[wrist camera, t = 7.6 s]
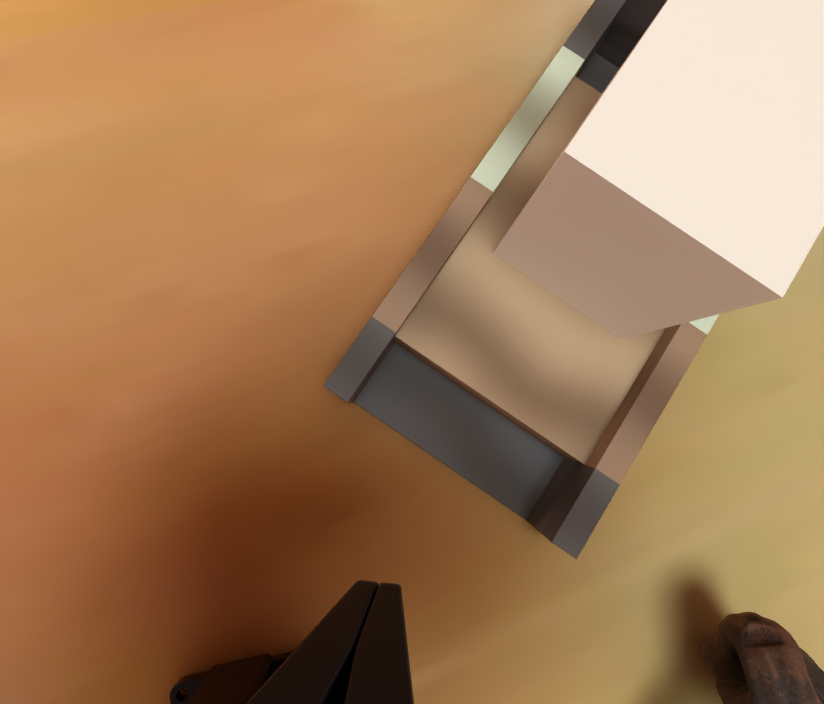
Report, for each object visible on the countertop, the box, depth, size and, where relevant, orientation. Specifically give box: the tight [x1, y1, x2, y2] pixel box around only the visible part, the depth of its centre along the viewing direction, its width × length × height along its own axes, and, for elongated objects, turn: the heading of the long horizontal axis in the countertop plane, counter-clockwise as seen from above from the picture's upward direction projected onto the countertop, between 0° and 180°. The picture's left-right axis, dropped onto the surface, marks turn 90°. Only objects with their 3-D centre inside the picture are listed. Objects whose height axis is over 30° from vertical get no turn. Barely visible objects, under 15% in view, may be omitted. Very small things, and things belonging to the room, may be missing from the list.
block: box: [493, 0, 824, 340], centre depth 16 cm, size 9×7×8 cm
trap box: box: [323, 0, 719, 559], centre depth 19 cm, size 24×12×6 cm, turn 146°
